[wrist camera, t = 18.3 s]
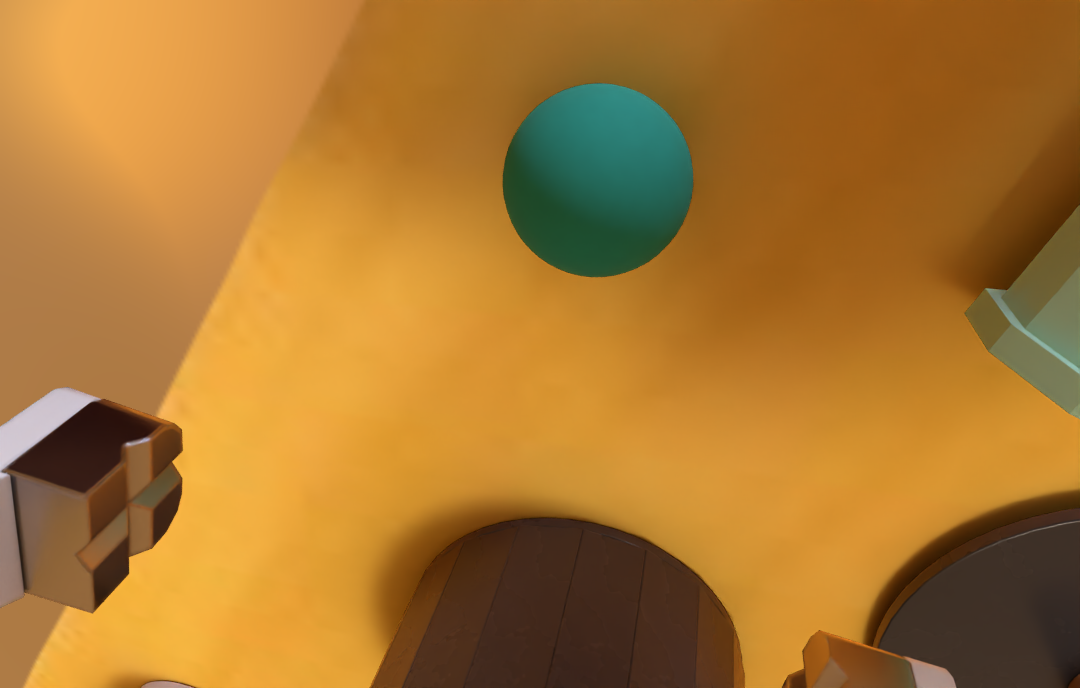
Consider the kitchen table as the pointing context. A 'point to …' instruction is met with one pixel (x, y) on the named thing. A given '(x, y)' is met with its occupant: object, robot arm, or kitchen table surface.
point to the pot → (560, 615)
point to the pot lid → (997, 608)
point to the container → (1039, 319)
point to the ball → (598, 180)
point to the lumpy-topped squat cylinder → (164, 685)
